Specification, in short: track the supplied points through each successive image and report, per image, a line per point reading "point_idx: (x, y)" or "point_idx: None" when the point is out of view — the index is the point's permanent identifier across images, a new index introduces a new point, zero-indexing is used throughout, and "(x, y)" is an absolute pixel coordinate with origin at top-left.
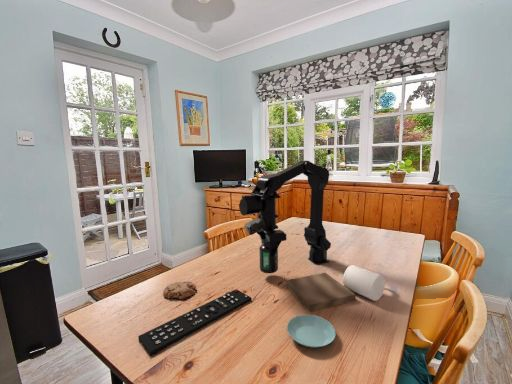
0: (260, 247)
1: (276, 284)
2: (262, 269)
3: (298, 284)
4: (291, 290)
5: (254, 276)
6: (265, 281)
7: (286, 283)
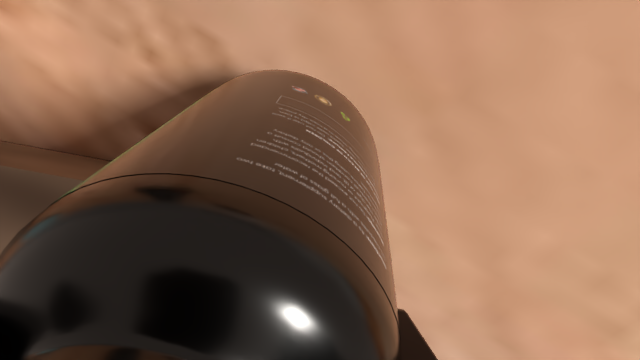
0: (198, 255)
1: (159, 117)
2: (237, 77)
3: (10, 216)
4: (20, 150)
5: (379, 24)
6: (240, 66)
7: (93, 170)
